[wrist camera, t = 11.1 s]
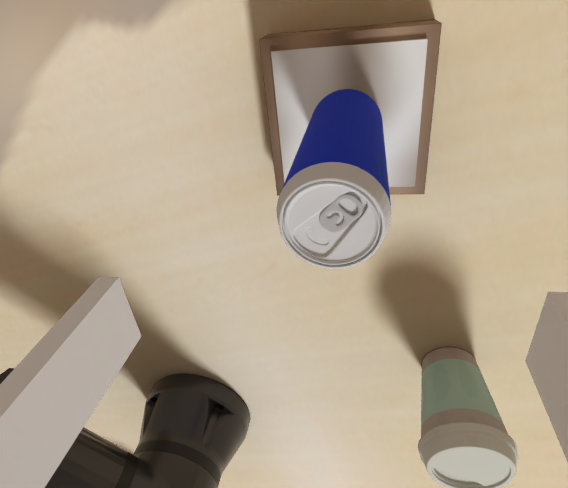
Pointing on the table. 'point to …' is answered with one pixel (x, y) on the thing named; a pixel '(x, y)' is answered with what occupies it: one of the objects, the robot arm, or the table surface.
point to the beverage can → (338, 184)
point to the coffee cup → (462, 425)
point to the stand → (358, 76)
